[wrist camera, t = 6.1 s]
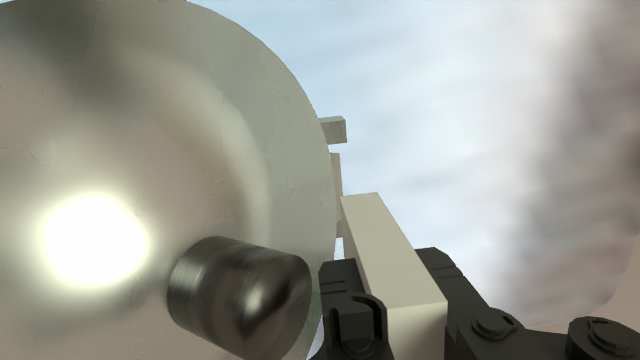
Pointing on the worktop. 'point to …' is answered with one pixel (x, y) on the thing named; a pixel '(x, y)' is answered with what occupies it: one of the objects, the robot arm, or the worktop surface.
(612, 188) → the worktop surface
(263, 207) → the lid
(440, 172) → the worktop surface
